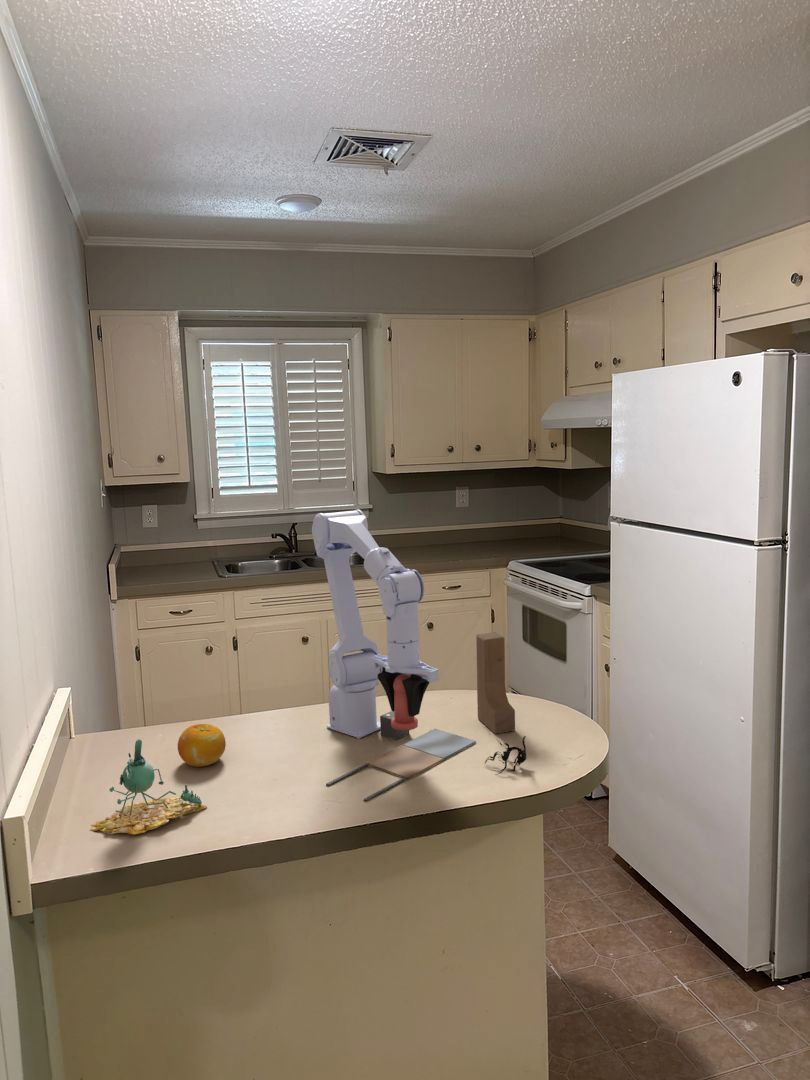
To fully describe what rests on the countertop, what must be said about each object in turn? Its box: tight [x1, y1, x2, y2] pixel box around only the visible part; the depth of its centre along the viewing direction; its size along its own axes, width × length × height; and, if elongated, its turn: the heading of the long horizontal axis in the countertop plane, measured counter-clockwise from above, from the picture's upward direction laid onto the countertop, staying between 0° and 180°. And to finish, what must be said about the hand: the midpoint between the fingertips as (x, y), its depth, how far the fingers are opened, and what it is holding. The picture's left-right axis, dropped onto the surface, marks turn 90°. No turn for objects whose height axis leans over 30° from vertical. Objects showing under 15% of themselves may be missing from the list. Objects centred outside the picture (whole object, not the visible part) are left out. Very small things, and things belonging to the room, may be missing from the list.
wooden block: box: [475, 632, 516, 735], centre depth 158 cm, size 9×4×18 cm, turn 17°
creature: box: [484, 735, 527, 776], centre depth 140 cm, size 8×5×8 cm
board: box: [325, 728, 477, 803], centre depth 144 cm, size 10×30×1 cm, turn 139°
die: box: [379, 710, 410, 741], centre depth 156 cm, size 4×4×4 cm
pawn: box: [391, 674, 419, 731], centre depth 142 cm, size 5×5×10 cm
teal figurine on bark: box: [89, 738, 208, 835], centre depth 124 cm, size 10×18×15 cm, turn 100°
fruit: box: [177, 723, 227, 768], centre depth 146 cm, size 8×8×8 cm
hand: (405, 712), depth 143 cm, fingers closed on pawn, 4 cm apart
